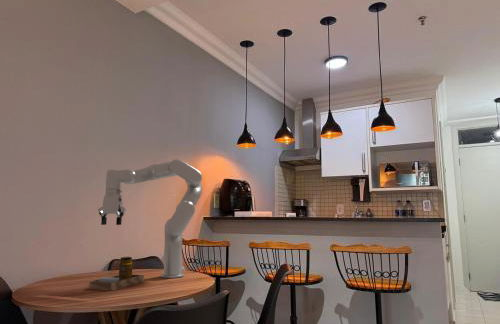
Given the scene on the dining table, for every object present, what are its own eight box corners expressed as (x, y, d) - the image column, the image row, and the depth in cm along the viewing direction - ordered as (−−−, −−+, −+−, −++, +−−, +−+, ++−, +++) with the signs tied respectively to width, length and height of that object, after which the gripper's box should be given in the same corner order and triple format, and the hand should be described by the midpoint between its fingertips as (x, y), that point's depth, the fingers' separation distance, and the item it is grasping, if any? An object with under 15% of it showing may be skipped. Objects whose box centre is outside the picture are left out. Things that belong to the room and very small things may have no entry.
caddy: (121, 282, 180) (121, 273, 181) (143, 283, 176) (143, 275, 177) (88, 290, 160) (89, 281, 160) (112, 292, 155) (113, 283, 156)
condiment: (135, 282, 175) (136, 256, 176) (123, 285, 167) (124, 258, 169) (123, 281, 178) (125, 256, 179) (111, 284, 170) (112, 258, 172)
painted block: (104, 285, 165) (104, 277, 166) (118, 287, 163) (119, 277, 163) (98, 287, 162) (98, 278, 162) (112, 288, 159) (113, 279, 160)
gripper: (130, 192, 194) (129, 224, 191) (104, 193, 199) (102, 224, 197) (121, 191, 187) (120, 225, 184) (94, 192, 192) (92, 224, 190)
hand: (111, 224), depth 190 cm, fingers open, 9 cm apart
